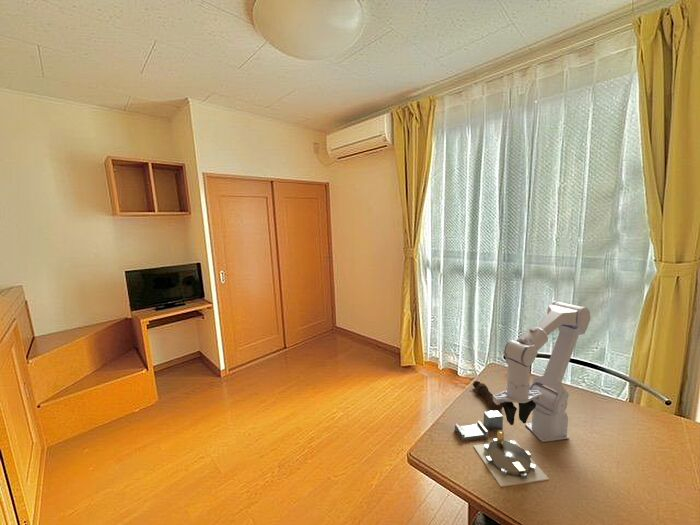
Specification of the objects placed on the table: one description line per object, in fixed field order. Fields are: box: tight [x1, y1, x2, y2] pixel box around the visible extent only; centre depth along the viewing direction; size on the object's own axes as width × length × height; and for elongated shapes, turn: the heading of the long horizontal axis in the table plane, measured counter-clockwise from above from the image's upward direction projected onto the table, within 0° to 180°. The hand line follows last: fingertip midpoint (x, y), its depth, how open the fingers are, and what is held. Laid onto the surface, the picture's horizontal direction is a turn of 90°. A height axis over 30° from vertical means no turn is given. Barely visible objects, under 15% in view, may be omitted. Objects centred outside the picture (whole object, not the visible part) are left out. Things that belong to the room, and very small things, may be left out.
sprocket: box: [484, 429, 535, 479], centre depth 84 cm, size 13×13×6 cm
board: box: [473, 439, 550, 488], centre depth 85 cm, size 14×14×1 cm
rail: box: [454, 420, 489, 442], centre depth 96 cm, size 9×5×2 cm, turn 96°
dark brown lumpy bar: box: [472, 380, 504, 412], centre depth 114 cm, size 6×5×15 cm
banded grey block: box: [483, 410, 504, 432], centre depth 99 cm, size 5×3×5 cm, turn 96°
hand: (516, 421), depth 88 cm, fingers open, 3 cm apart
